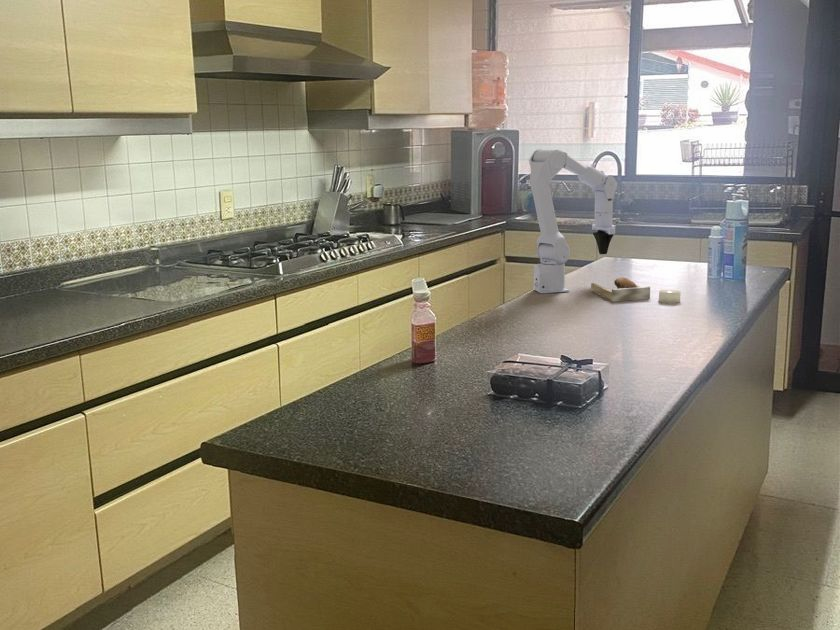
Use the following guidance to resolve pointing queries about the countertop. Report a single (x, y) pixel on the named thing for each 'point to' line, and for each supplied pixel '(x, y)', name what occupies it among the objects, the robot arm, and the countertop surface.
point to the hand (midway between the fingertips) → (603, 253)
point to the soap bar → (669, 296)
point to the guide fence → (622, 293)
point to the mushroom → (624, 283)
